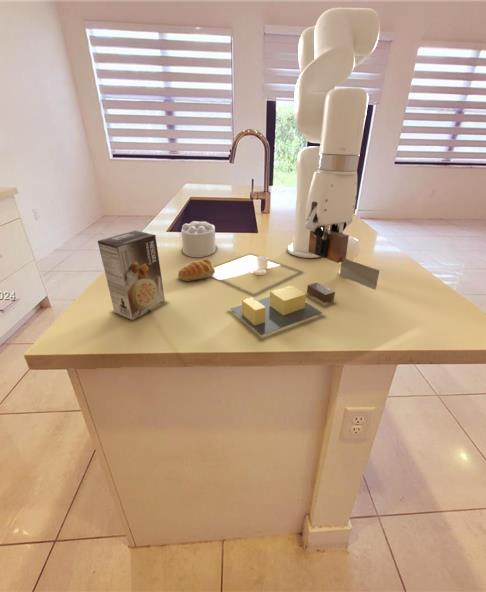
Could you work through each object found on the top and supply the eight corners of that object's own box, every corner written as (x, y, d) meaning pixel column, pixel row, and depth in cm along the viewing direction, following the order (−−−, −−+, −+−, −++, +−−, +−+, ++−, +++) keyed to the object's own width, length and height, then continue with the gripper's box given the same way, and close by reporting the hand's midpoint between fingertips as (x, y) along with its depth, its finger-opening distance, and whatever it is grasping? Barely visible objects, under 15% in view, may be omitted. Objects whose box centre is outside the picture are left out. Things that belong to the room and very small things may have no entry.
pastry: (186, 285, 80) (183, 272, 78) (174, 276, 84) (172, 263, 82) (217, 274, 85) (216, 261, 83) (204, 267, 89) (203, 254, 87)
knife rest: (315, 293, 77) (316, 282, 76) (333, 303, 73) (335, 291, 72) (306, 296, 76) (307, 285, 74) (324, 306, 71) (325, 294, 70)
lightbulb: (359, 275, 88) (367, 237, 83) (348, 282, 84) (355, 242, 78) (339, 269, 92) (345, 232, 86) (327, 275, 87) (333, 236, 82)
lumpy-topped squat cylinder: (216, 244, 109) (215, 219, 105) (213, 257, 98) (212, 230, 93) (186, 243, 109) (184, 218, 105) (179, 257, 97) (177, 229, 93)
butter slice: (251, 311, 67) (252, 297, 65) (265, 322, 63) (265, 307, 62) (241, 314, 66) (241, 299, 64) (254, 325, 62) (255, 310, 60)
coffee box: (146, 295, 74) (136, 229, 67) (166, 303, 71) (157, 234, 64) (112, 312, 67) (96, 240, 60) (132, 321, 64) (118, 246, 57)
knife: (314, 262, 74) (317, 226, 71) (379, 288, 61) (387, 245, 57) (307, 264, 73) (310, 228, 69) (371, 291, 60) (379, 248, 56)
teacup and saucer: (261, 280, 83) (262, 266, 81) (240, 271, 88) (240, 258, 86) (282, 271, 89) (283, 257, 87) (261, 263, 94) (261, 250, 92)
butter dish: (287, 294, 76) (287, 291, 76) (322, 316, 68) (322, 312, 67) (230, 312, 68) (230, 308, 68) (261, 339, 60) (261, 335, 59)
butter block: (290, 298, 72) (291, 285, 71) (304, 308, 69) (306, 293, 67) (269, 305, 69) (270, 291, 68) (283, 315, 66) (284, 300, 64)
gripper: (350, 162, 67) (338, 244, 76) (293, 164, 59) (286, 256, 68) (380, 165, 62) (363, 253, 70) (321, 167, 54) (310, 267, 62)
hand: (325, 254), depth 69 cm, fingers closed on knife, 2 cm apart
